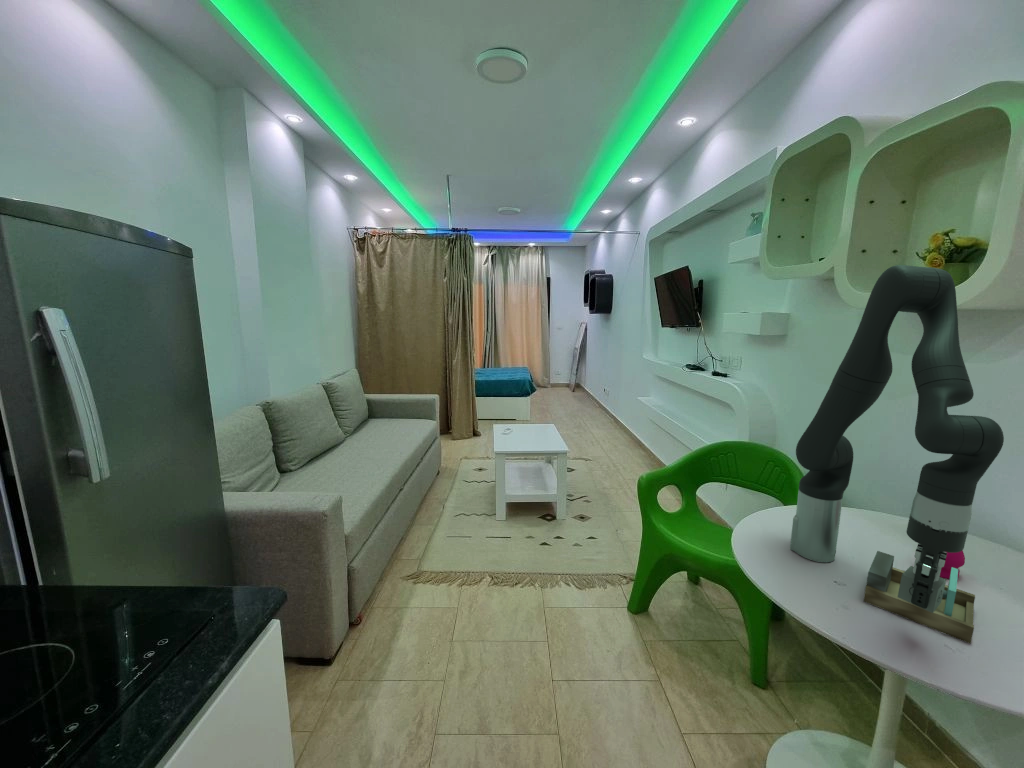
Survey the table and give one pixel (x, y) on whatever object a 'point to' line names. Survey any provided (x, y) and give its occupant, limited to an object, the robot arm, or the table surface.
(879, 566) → the pusher lane
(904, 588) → the dice cube
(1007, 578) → the table surface
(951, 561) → the pepper mill
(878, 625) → the table surface
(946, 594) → the bar
